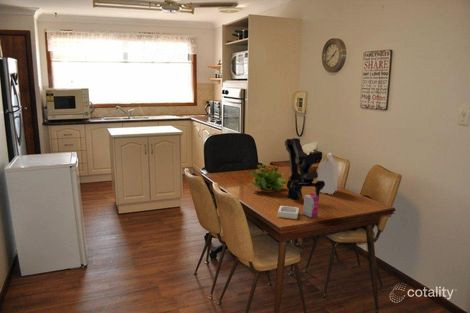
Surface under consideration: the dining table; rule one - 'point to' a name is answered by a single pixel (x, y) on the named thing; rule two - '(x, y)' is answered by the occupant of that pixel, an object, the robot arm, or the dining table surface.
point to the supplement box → (310, 205)
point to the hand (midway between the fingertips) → (310, 198)
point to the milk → (328, 174)
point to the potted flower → (268, 179)
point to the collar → (288, 212)
